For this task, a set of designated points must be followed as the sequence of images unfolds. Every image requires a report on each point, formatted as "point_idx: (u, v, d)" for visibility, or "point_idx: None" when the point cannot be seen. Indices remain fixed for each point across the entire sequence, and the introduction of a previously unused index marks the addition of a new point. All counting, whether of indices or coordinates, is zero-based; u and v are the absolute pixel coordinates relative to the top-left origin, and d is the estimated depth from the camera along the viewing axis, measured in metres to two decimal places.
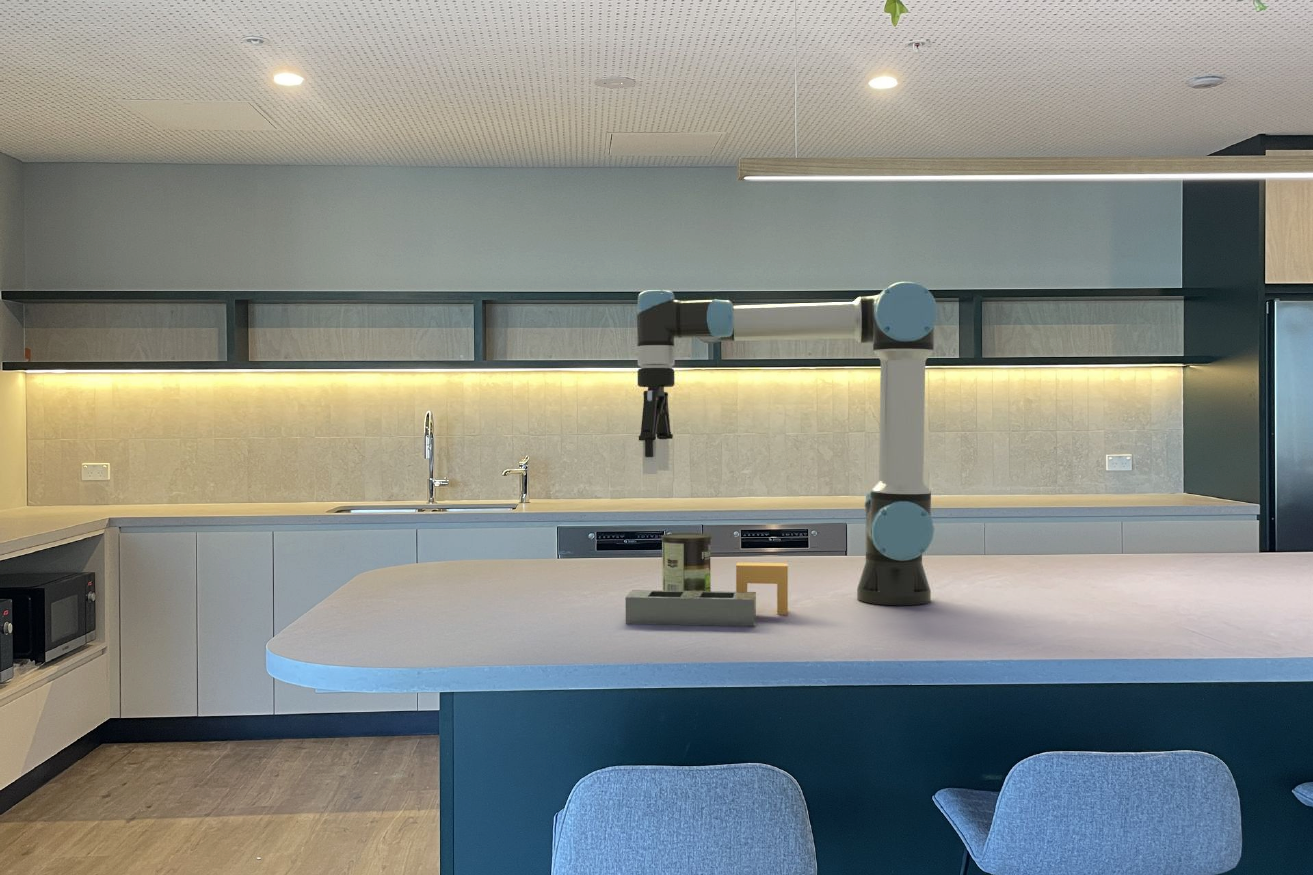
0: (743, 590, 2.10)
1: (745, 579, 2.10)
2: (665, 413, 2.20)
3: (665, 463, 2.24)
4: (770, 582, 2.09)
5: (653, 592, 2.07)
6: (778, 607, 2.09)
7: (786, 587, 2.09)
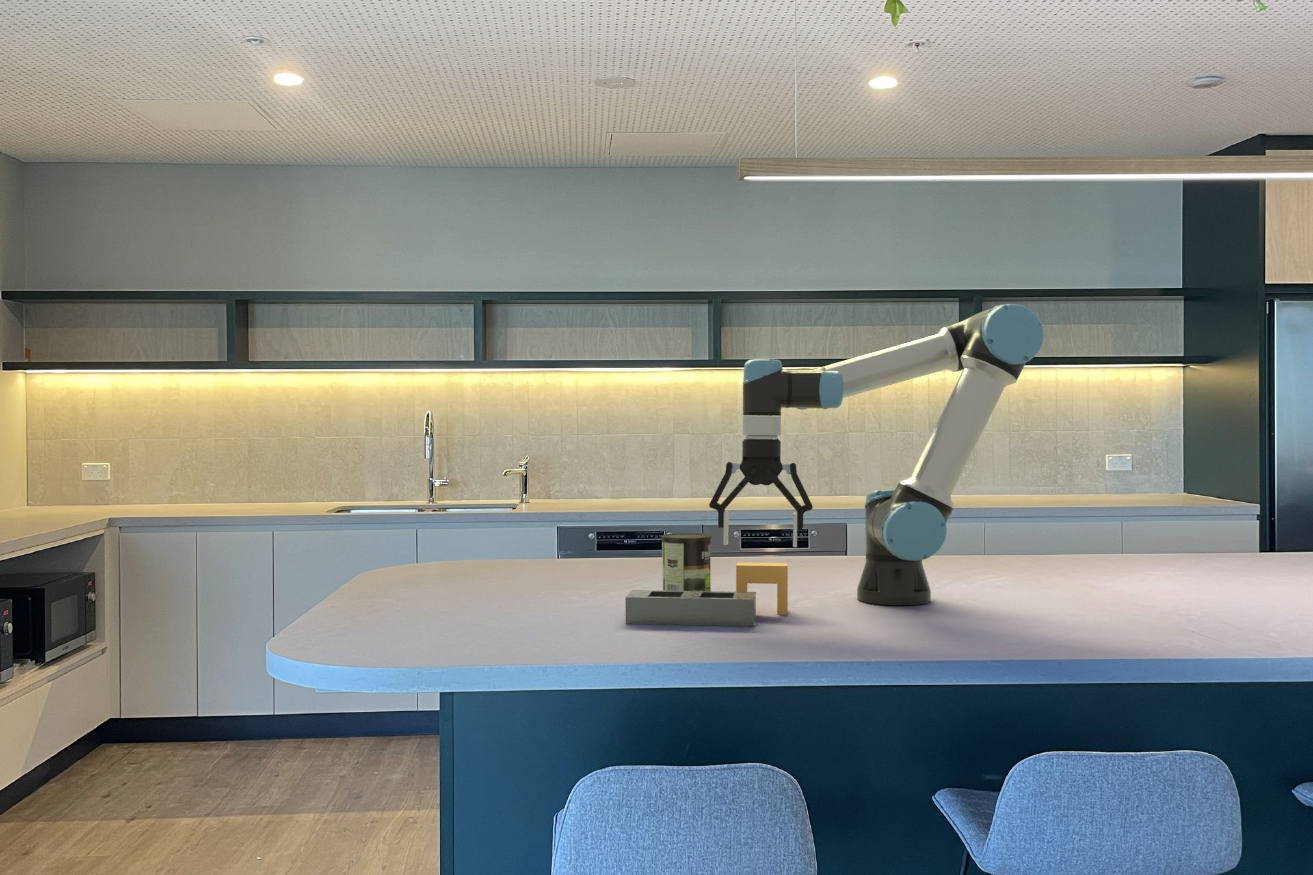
0: (743, 590, 2.10)
1: (745, 579, 2.10)
2: (775, 485, 2.09)
3: (793, 538, 2.10)
4: (770, 582, 2.09)
5: (653, 592, 2.07)
6: (778, 607, 2.09)
7: (786, 587, 2.09)
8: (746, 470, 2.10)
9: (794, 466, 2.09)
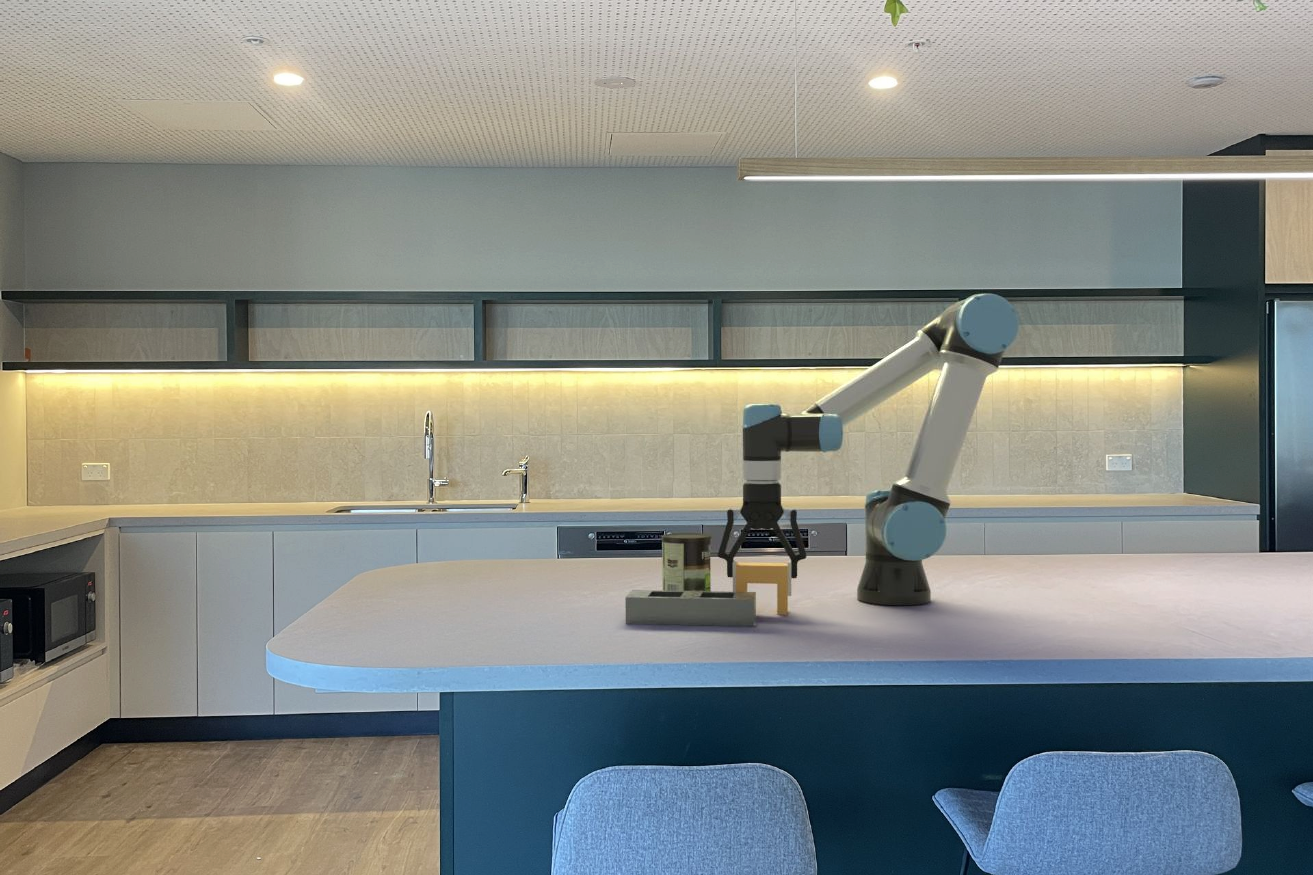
0: (743, 590, 2.10)
1: (745, 578, 2.10)
2: (774, 531, 2.10)
3: None
4: (770, 582, 2.09)
5: (653, 592, 2.07)
6: (778, 607, 2.09)
7: (786, 587, 2.09)
8: (747, 514, 2.11)
9: (795, 513, 2.09)
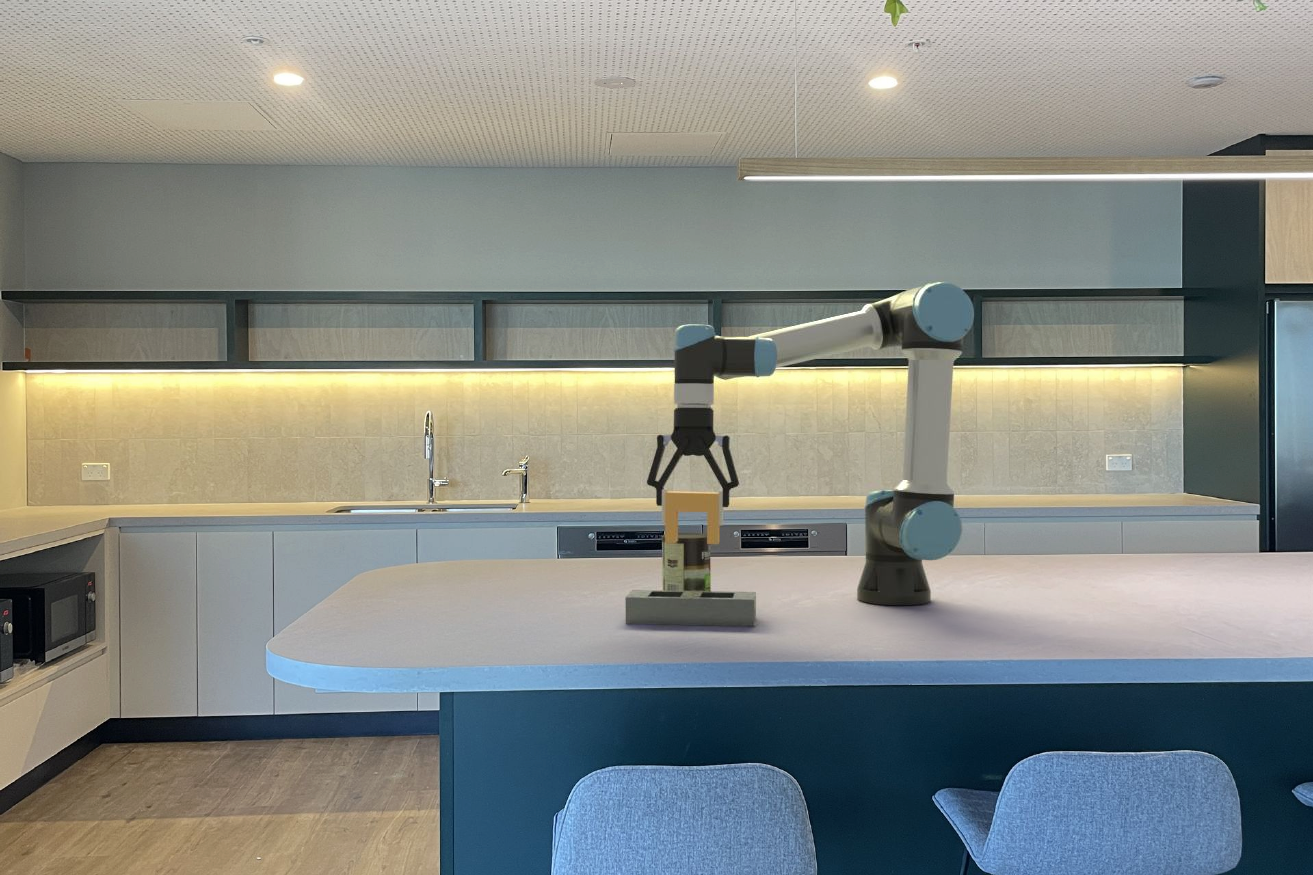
0: (672, 518, 2.02)
1: (674, 506, 2.02)
2: (705, 457, 2.01)
3: None
4: (700, 510, 2.01)
5: (653, 592, 2.07)
6: (708, 536, 2.01)
7: (717, 516, 2.01)
8: (678, 440, 2.02)
9: (727, 439, 2.01)
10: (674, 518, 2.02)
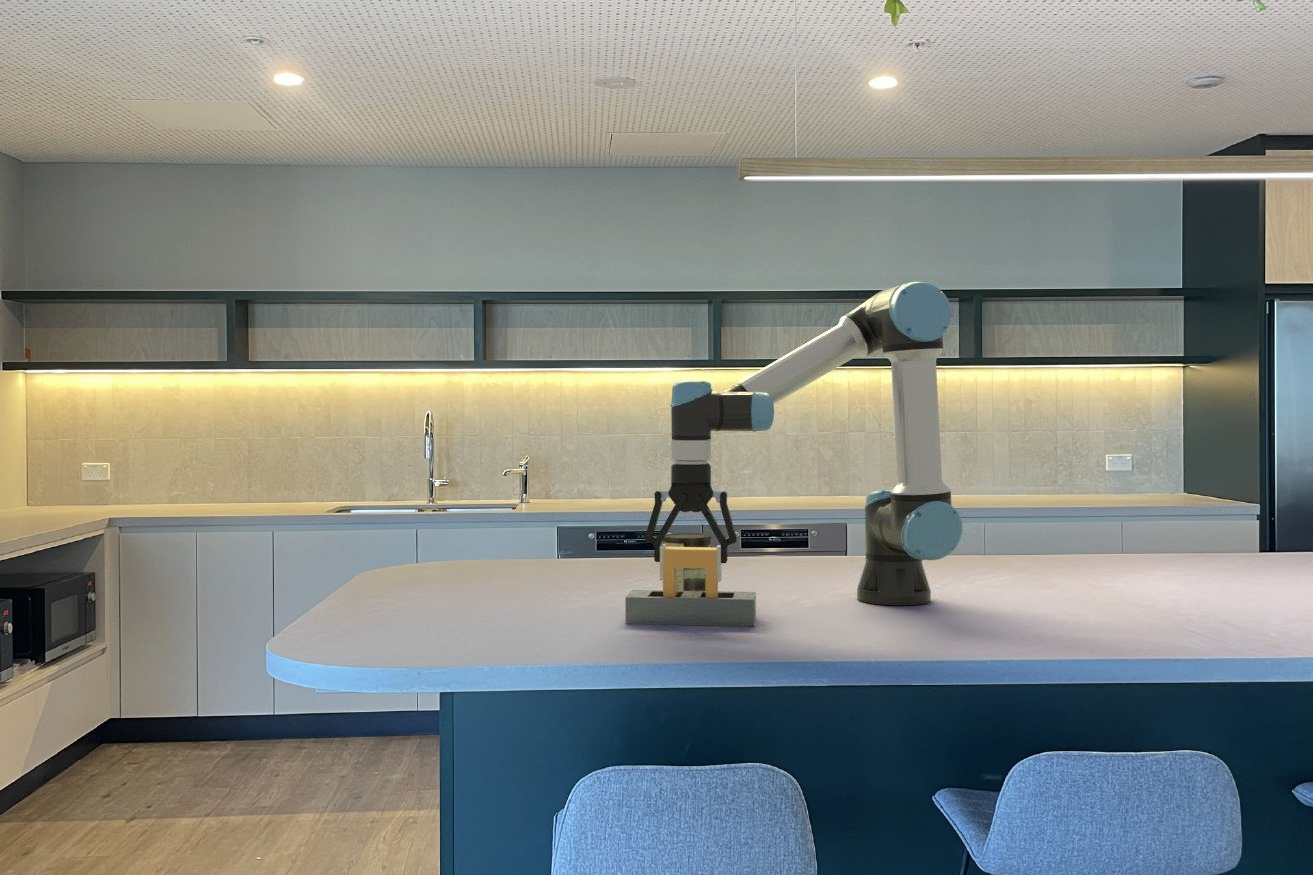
0: (670, 575, 2.01)
1: (672, 563, 2.01)
2: None
3: None
4: (698, 567, 2.01)
5: (653, 592, 2.07)
6: (706, 593, 2.01)
7: (715, 572, 2.00)
8: (676, 496, 2.02)
9: (724, 495, 2.00)
10: (672, 575, 2.01)
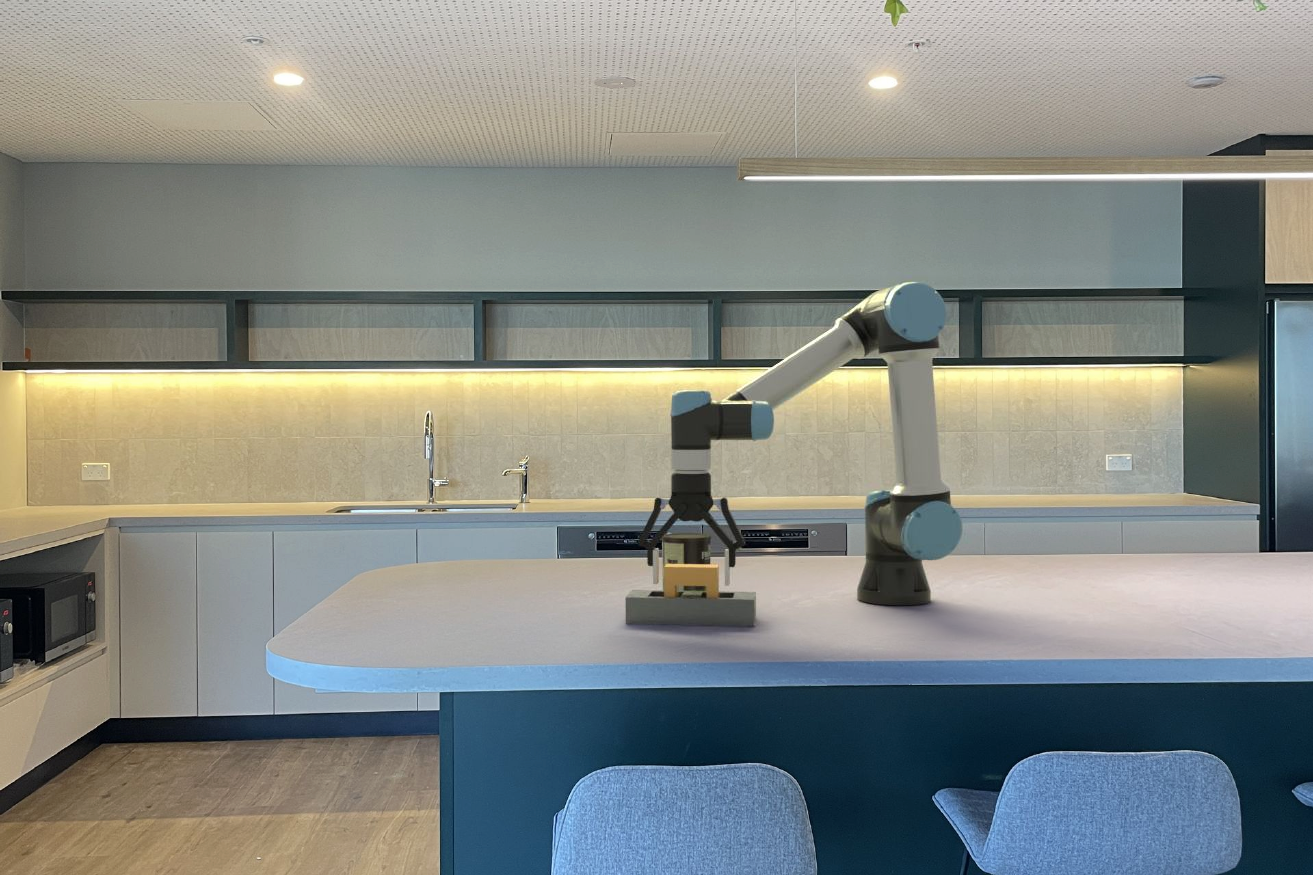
0: (671, 592, 2.01)
1: (673, 581, 2.01)
2: (706, 522, 2.01)
3: (725, 576, 2.01)
4: (699, 584, 2.01)
5: (653, 592, 2.07)
6: None
7: (716, 589, 2.00)
8: (675, 506, 2.02)
9: (725, 501, 2.00)
10: (673, 592, 2.01)
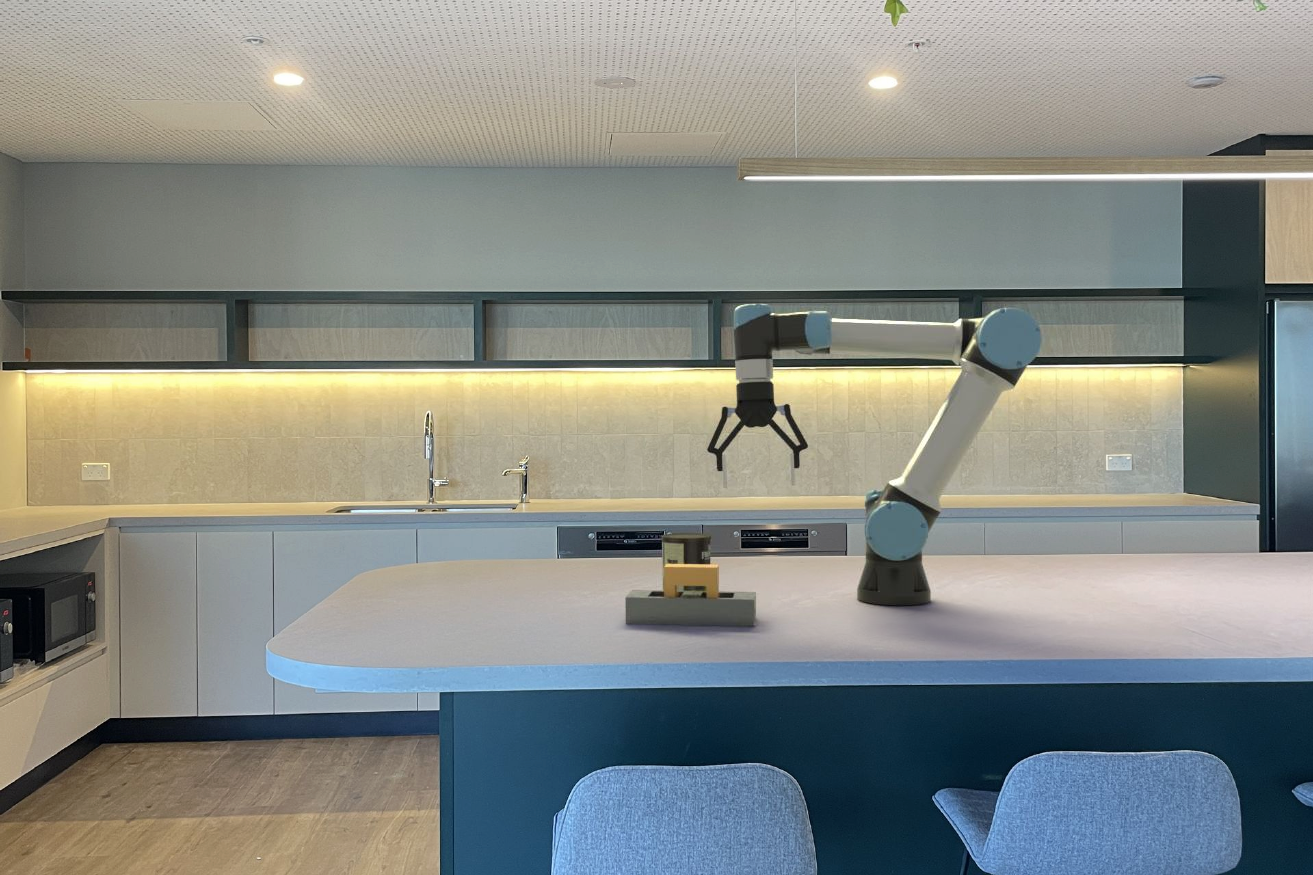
0: (671, 592, 2.01)
1: (673, 581, 2.01)
2: (771, 427, 2.15)
3: (790, 477, 2.15)
4: (699, 584, 2.01)
5: (653, 592, 2.07)
6: None
7: (716, 589, 2.00)
8: (741, 413, 2.16)
9: (788, 407, 2.15)
10: (673, 592, 2.01)
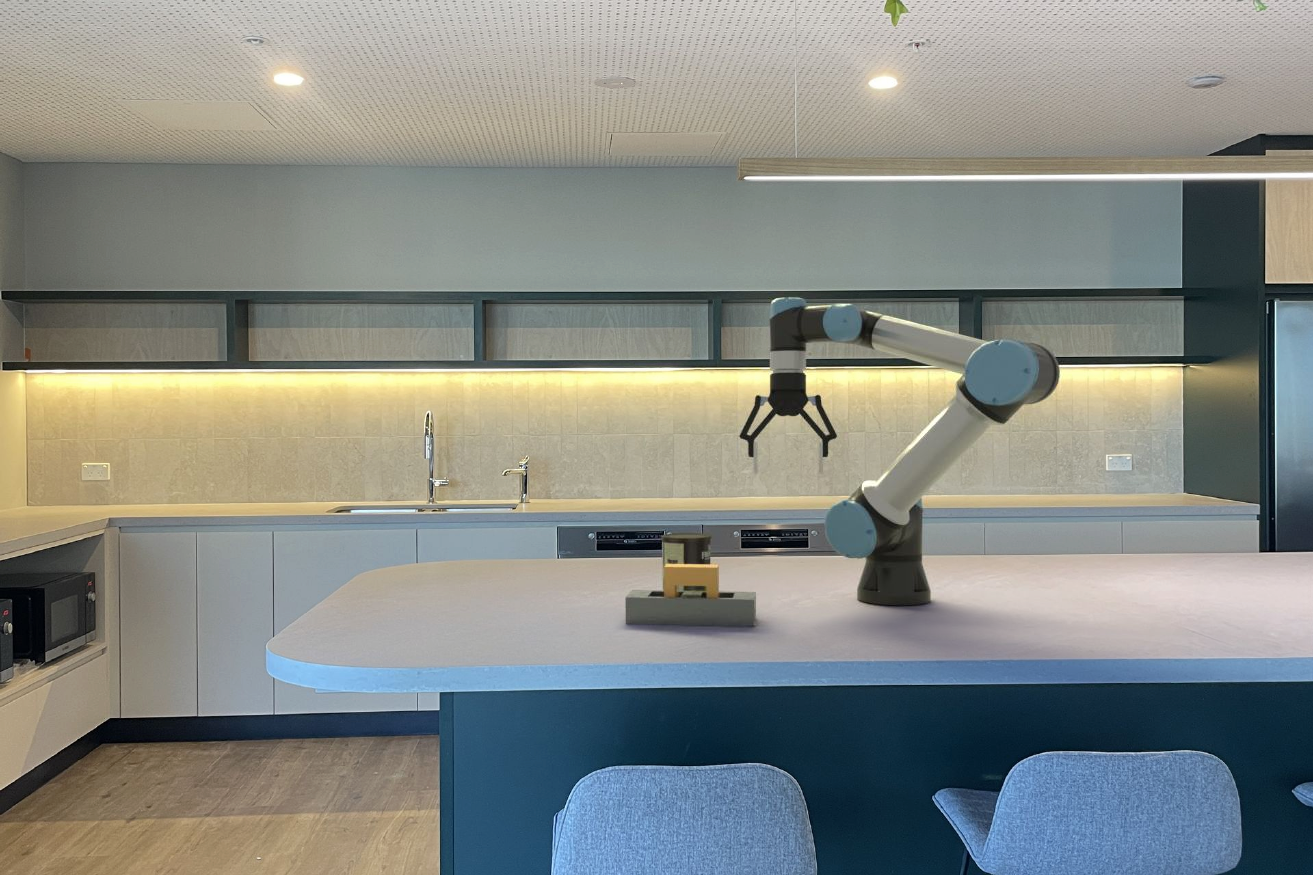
0: (671, 592, 2.01)
1: (673, 581, 2.01)
2: (802, 416, 2.23)
3: (819, 466, 2.24)
4: (699, 584, 2.01)
5: (653, 592, 2.07)
6: None
7: (716, 589, 2.00)
8: (774, 402, 2.24)
9: (819, 398, 2.23)
10: (673, 592, 2.01)
